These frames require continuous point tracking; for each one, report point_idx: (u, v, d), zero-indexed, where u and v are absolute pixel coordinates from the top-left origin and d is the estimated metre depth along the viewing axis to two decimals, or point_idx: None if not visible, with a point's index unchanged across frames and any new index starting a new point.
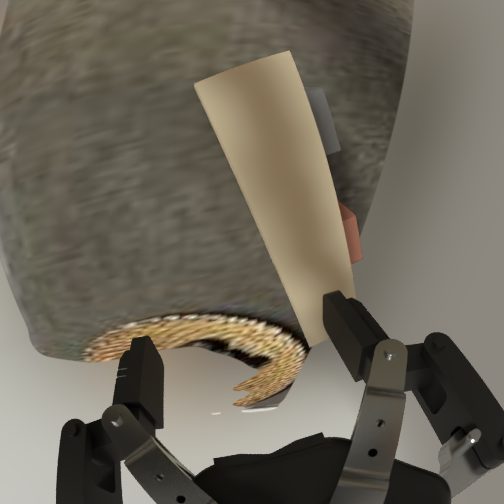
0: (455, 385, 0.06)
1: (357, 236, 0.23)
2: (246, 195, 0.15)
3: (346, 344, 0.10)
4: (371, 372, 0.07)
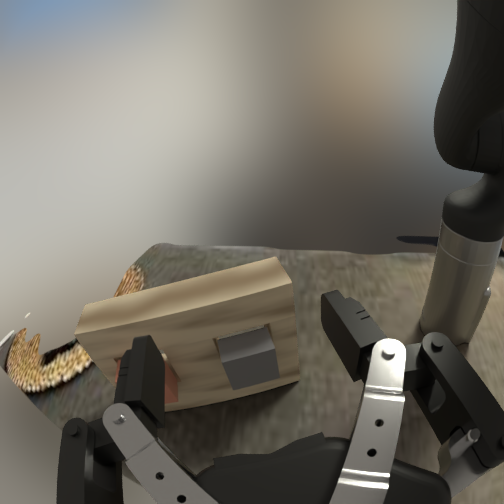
0: (454, 385, 0.06)
1: None
2: (214, 272, 0.28)
3: (344, 344, 0.10)
4: (369, 372, 0.08)
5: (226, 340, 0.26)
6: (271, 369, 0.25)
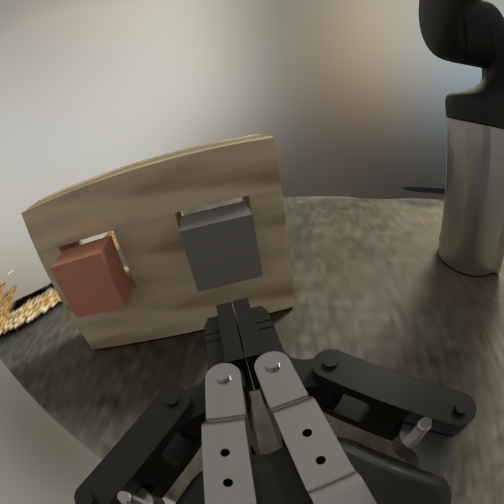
0: (373, 394, 0.07)
1: (77, 258, 0.17)
2: (187, 148, 0.23)
3: None
4: (265, 392, 0.08)
5: (191, 215, 0.20)
6: (250, 256, 0.20)
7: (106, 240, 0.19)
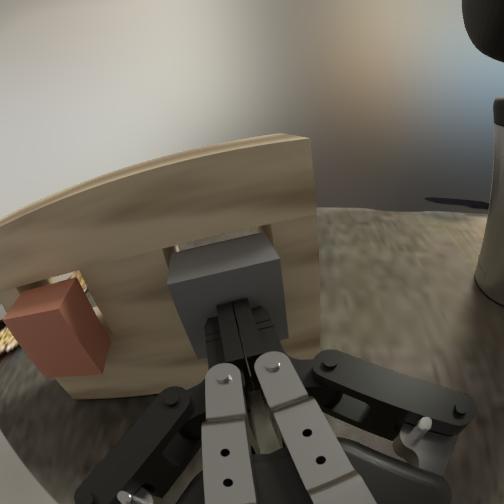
0: (373, 394, 0.07)
1: (32, 312, 0.11)
2: (181, 152, 0.16)
3: None
4: (265, 392, 0.08)
5: (185, 253, 0.14)
6: (273, 315, 0.13)
7: (70, 285, 0.13)
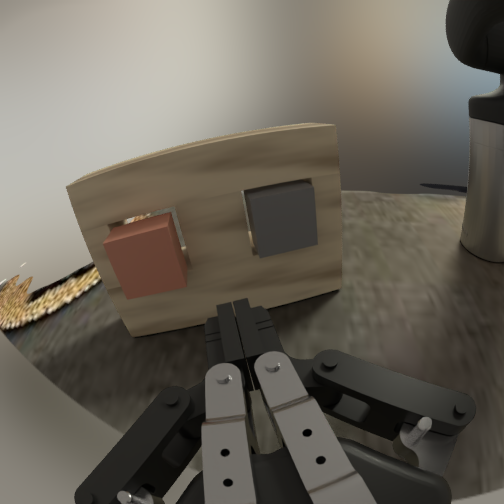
0: (373, 394, 0.07)
1: (138, 233, 0.18)
2: None
3: None
4: (265, 392, 0.08)
5: (254, 188, 0.22)
6: (309, 225, 0.22)
7: (167, 216, 0.20)
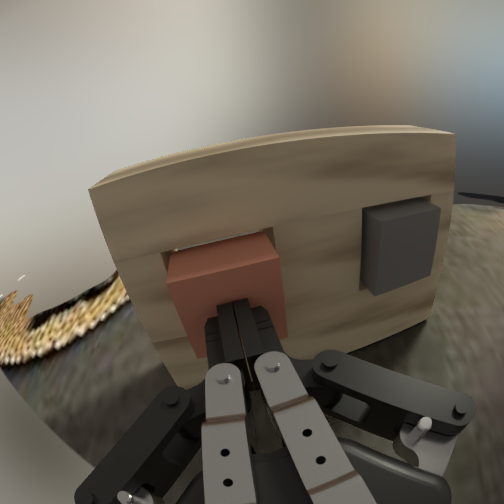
0: (373, 394, 0.07)
1: (229, 267, 0.12)
2: (343, 127, 0.17)
3: None
4: (265, 392, 0.08)
5: None
6: (428, 253, 0.15)
7: (264, 237, 0.14)
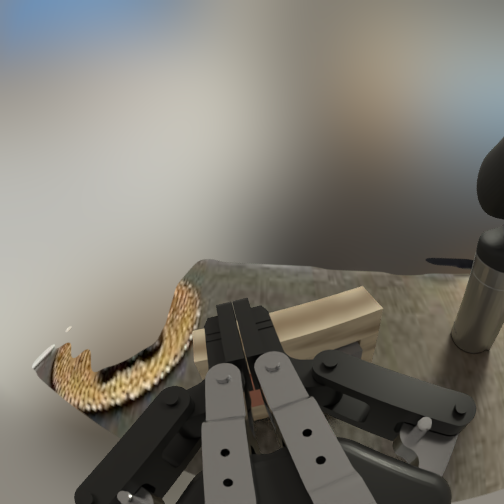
0: (373, 394, 0.07)
1: None
2: (317, 300, 0.33)
3: None
4: (265, 392, 0.08)
5: None
6: None
7: None
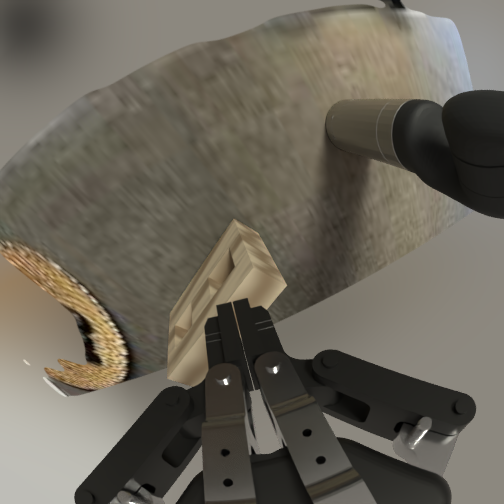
0: (373, 394, 0.07)
1: None
2: None
3: None
4: (265, 392, 0.08)
5: None
6: None
7: None
